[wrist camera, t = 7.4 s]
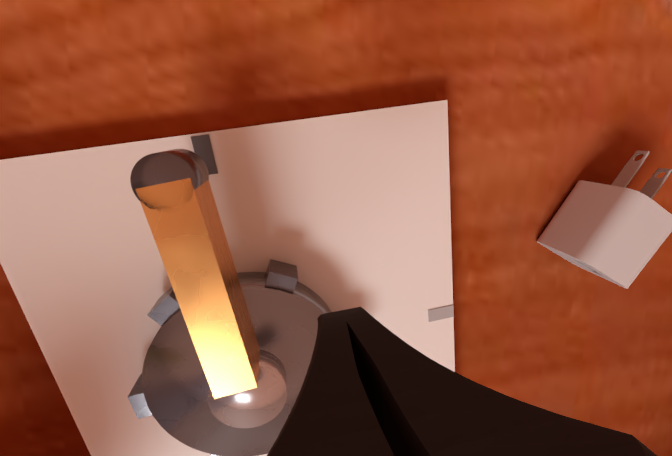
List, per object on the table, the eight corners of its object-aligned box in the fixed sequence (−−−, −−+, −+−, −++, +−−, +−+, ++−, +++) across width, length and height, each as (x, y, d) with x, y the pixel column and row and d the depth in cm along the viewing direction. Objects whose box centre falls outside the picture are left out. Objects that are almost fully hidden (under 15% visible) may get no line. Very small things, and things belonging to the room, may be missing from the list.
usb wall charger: (531, 238, 21) (586, 262, 17) (599, 140, 20) (673, 143, 16) (573, 264, 22) (633, 292, 19) (640, 172, 21) (718, 182, 17)
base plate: (130, 502, 22) (122, 524, 21) (-22, 163, 15) (-47, 166, 14) (448, 421, 24) (457, 436, 23) (436, 101, 18) (447, 99, 17)
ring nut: (367, 400, 21) (389, 469, 17) (178, 454, 20) (151, 543, 16) (312, 122, 16) (325, 119, 12) (53, 173, 15) (-40, 190, 10)
